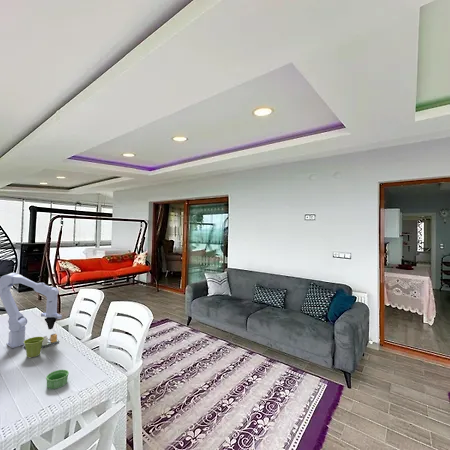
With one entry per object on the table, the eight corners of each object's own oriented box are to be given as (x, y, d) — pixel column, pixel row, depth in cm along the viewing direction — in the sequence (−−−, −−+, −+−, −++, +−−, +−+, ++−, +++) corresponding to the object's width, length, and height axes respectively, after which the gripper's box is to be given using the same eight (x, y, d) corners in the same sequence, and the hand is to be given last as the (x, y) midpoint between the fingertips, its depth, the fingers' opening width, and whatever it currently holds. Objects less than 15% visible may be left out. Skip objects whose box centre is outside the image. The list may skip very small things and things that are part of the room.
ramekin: (58, 391, 117) (58, 381, 117) (40, 388, 119) (41, 378, 119) (72, 379, 126) (73, 370, 126) (56, 377, 128) (56, 368, 128)
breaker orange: (50, 341, 164) (50, 334, 164) (54, 339, 166) (55, 332, 166) (52, 342, 162) (52, 335, 163) (56, 341, 165) (57, 333, 165)
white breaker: (40, 344, 160) (41, 336, 160) (45, 342, 162) (45, 335, 162) (42, 345, 158) (43, 337, 158) (47, 343, 160) (47, 336, 160)
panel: (23, 347, 158) (23, 344, 158) (51, 338, 171) (51, 336, 171) (30, 352, 152) (30, 348, 152) (59, 342, 165) (59, 339, 165)
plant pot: (32, 360, 143) (33, 344, 143) (18, 358, 145) (19, 342, 145) (47, 352, 152) (48, 337, 152) (34, 350, 154) (34, 335, 154)
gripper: (36, 308, 165) (35, 329, 164) (55, 310, 161) (54, 332, 161) (46, 304, 172) (45, 325, 171) (65, 307, 168) (64, 328, 168)
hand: (50, 328), depth 167 cm, fingers closed
